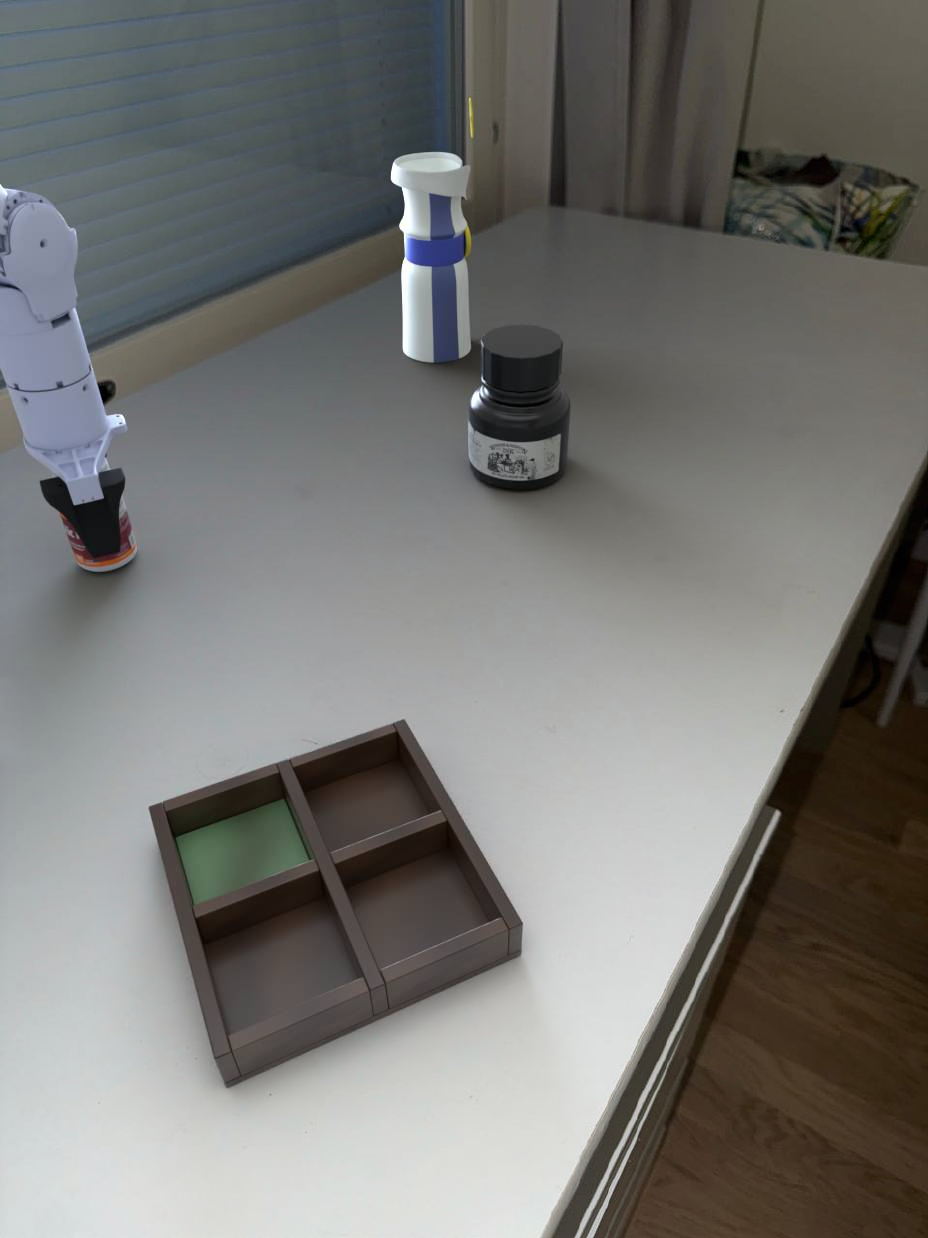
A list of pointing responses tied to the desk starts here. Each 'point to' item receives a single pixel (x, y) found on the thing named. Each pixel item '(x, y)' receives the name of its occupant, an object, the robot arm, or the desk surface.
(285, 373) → the desk surface
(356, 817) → the tray
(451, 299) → the water bottle
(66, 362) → the robot arm
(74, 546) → the pill bottle
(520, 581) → the desk surface
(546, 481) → the ink bottle
